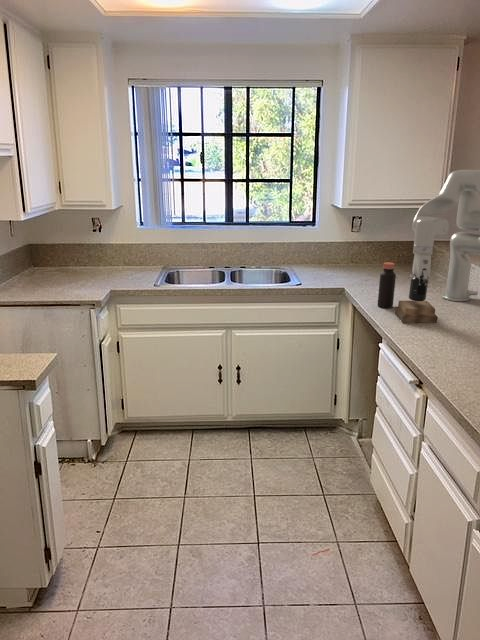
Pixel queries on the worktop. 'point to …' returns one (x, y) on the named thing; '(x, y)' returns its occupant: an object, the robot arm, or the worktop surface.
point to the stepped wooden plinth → (416, 312)
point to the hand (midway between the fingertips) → (418, 291)
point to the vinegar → (387, 286)
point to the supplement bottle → (413, 290)
